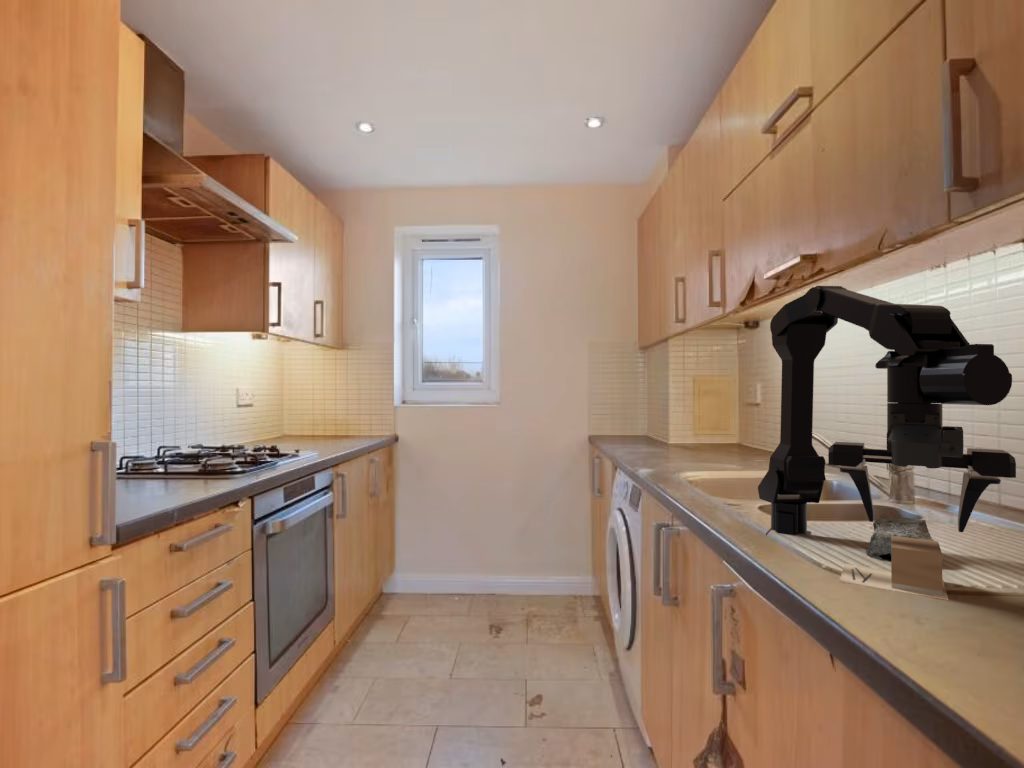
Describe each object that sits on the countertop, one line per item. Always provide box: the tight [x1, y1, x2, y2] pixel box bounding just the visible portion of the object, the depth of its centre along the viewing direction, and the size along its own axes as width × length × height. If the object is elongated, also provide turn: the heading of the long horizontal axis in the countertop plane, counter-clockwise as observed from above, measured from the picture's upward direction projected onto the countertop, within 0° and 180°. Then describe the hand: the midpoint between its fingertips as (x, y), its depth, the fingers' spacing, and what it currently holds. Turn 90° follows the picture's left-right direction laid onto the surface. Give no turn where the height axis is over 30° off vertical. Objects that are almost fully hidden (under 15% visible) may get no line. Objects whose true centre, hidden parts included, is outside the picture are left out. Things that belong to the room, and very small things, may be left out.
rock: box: [865, 513, 935, 562], centre depth 84 cm, size 13×9×6 cm, turn 153°
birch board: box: [839, 563, 949, 601], centre depth 72 cm, size 9×11×1 cm
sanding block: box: [890, 536, 943, 596], centre depth 71 cm, size 7×5×5 cm
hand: (914, 526), depth 71 cm, fingers open, 9 cm apart
